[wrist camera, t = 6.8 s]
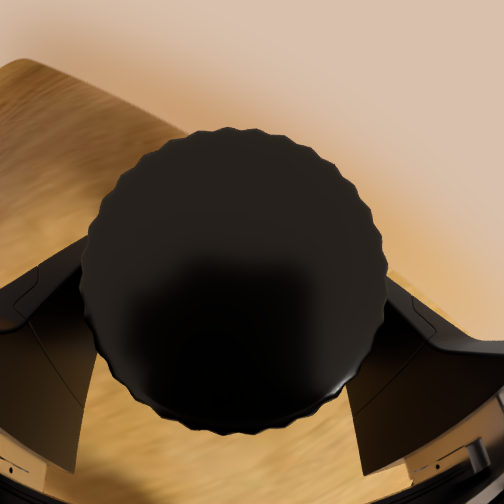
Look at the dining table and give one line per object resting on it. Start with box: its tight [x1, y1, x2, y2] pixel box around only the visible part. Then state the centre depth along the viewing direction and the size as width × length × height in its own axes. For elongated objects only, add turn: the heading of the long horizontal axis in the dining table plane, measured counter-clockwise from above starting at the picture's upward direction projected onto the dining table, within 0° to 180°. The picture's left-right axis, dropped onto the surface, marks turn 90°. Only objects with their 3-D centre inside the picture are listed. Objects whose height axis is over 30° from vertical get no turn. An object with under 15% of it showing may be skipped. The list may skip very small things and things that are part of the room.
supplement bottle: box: [79, 127, 389, 436], centre depth 10 cm, size 7×7×12 cm
